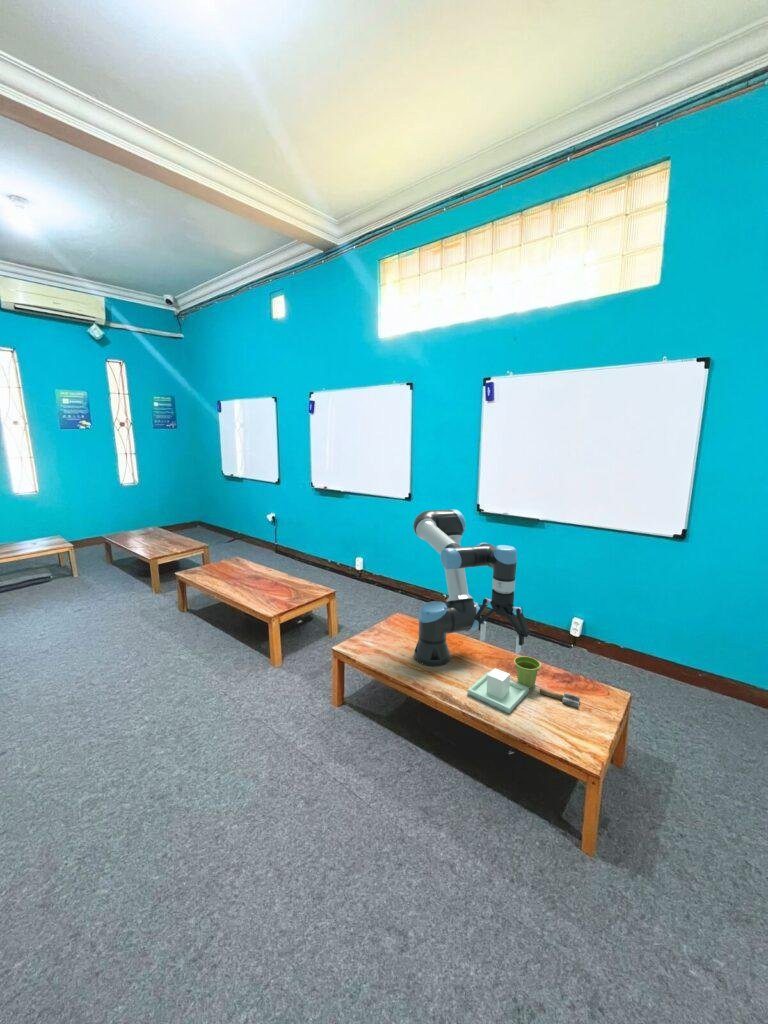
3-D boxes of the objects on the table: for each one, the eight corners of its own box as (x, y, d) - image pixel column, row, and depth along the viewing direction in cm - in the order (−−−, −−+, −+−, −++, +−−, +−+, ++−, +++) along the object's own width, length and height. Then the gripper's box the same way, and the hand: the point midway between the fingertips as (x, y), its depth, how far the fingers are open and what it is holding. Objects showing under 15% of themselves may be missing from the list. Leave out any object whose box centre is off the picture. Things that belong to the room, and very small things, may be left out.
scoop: (538, 695, 145) (538, 691, 144) (540, 690, 148) (541, 685, 148) (578, 708, 138) (578, 703, 137) (579, 701, 141) (579, 697, 141)
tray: (467, 694, 145) (467, 689, 145) (488, 676, 157) (488, 671, 157) (509, 714, 135) (509, 708, 134) (528, 692, 146) (528, 687, 146)
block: (486, 692, 146) (487, 674, 144) (494, 685, 150) (495, 668, 149) (501, 699, 142) (502, 681, 140) (509, 691, 146) (510, 674, 145)
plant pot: (525, 693, 146) (526, 671, 145) (507, 679, 154) (508, 659, 153) (544, 687, 150) (546, 666, 148) (526, 674, 158) (527, 654, 157)
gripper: (466, 584, 145) (463, 638, 149) (534, 602, 128) (529, 663, 132) (476, 578, 150) (474, 631, 154) (543, 596, 134) (538, 654, 138)
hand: (499, 646), depth 143 cm, fingers open, 13 cm apart
